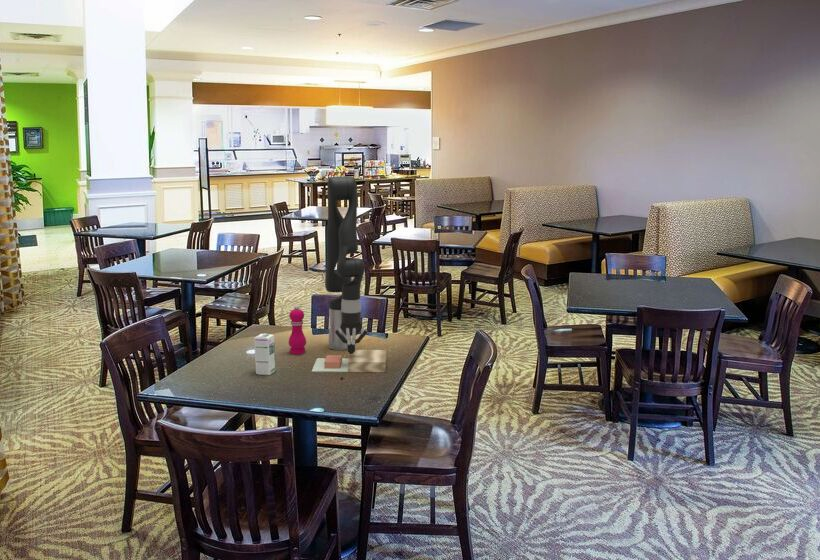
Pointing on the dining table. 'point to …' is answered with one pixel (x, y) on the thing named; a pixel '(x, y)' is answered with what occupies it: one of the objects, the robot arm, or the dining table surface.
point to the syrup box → (265, 354)
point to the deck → (367, 361)
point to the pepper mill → (297, 332)
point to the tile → (333, 361)
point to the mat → (320, 368)
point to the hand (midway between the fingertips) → (351, 353)
